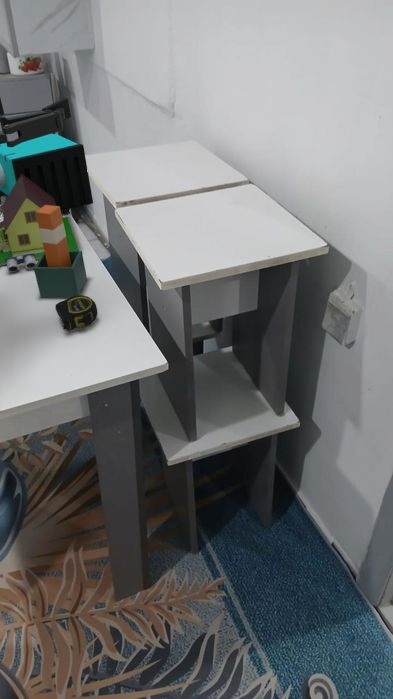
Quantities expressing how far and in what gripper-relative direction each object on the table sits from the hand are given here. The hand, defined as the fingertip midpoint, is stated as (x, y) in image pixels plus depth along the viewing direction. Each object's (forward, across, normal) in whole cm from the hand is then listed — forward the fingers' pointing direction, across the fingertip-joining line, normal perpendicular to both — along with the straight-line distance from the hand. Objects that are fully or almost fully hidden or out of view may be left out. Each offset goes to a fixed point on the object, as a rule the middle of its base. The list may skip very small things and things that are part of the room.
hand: (33, 106), depth 87 cm
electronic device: (+34, -31, -33) cm, 56 cm away
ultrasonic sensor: (+5, -14, -34) cm, 37 cm away
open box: (-1, -1, -33) cm, 33 cm away
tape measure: (-12, +7, -34) cm, 36 cm away
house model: (+16, -18, -33) cm, 41 cm away
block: (-1, -1, -33) cm, 33 cm away
